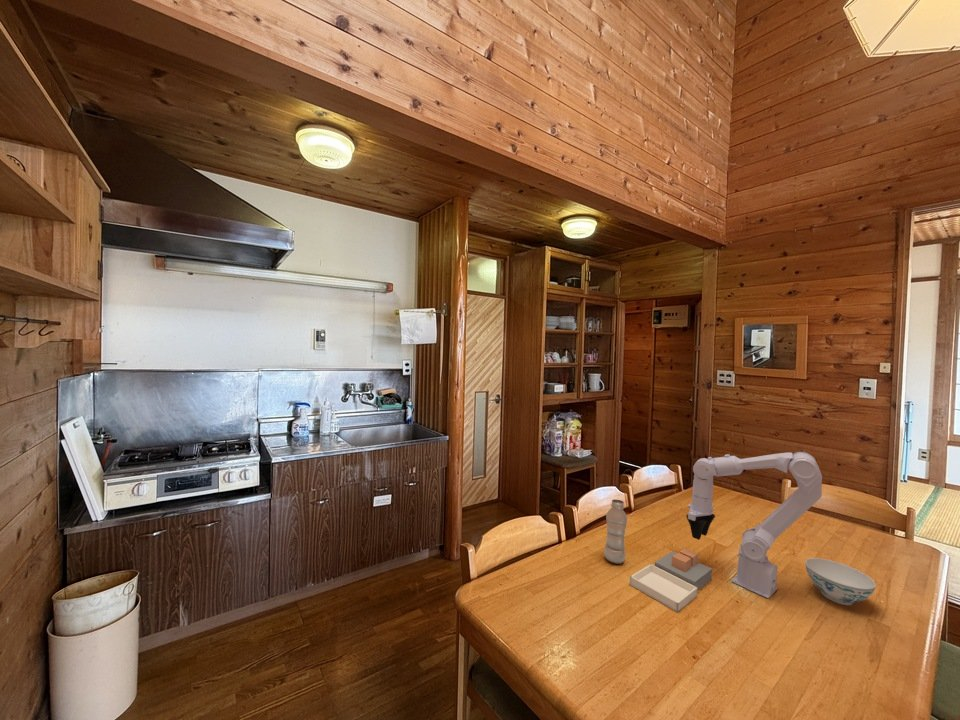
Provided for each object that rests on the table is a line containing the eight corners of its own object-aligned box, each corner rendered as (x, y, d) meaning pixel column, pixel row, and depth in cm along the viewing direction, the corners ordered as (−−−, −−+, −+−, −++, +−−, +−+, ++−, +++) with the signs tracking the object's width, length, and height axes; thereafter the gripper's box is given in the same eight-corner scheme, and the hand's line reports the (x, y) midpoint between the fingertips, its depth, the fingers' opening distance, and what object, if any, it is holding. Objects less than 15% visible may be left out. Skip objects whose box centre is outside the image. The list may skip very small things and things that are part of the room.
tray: (697, 596, 108) (697, 587, 108) (677, 612, 101) (678, 603, 101) (650, 571, 119) (650, 563, 119) (629, 584, 112) (630, 576, 112)
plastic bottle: (626, 568, 121) (630, 506, 120) (604, 564, 122) (608, 504, 121) (623, 557, 127) (627, 499, 126) (602, 554, 128) (606, 496, 128)
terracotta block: (690, 567, 116) (691, 558, 116) (684, 572, 114) (685, 562, 114) (677, 561, 119) (678, 552, 119) (671, 565, 117) (672, 556, 117)
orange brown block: (697, 562, 119) (698, 553, 119) (692, 566, 117) (692, 557, 117) (684, 556, 123) (685, 547, 122) (678, 560, 120) (679, 551, 120)
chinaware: (862, 593, 113) (864, 568, 113) (882, 624, 100) (885, 595, 100) (798, 576, 121) (800, 552, 121) (809, 602, 108) (812, 576, 108)
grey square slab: (711, 579, 117) (712, 568, 116) (694, 593, 109) (695, 581, 109) (672, 561, 126) (673, 550, 126) (654, 572, 119) (654, 561, 119)
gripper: (698, 487, 131) (696, 525, 131) (679, 495, 122) (676, 536, 123) (721, 494, 125) (718, 534, 126) (702, 503, 116) (699, 546, 117)
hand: (699, 536), depth 124 cm, fingers open, 4 cm apart
